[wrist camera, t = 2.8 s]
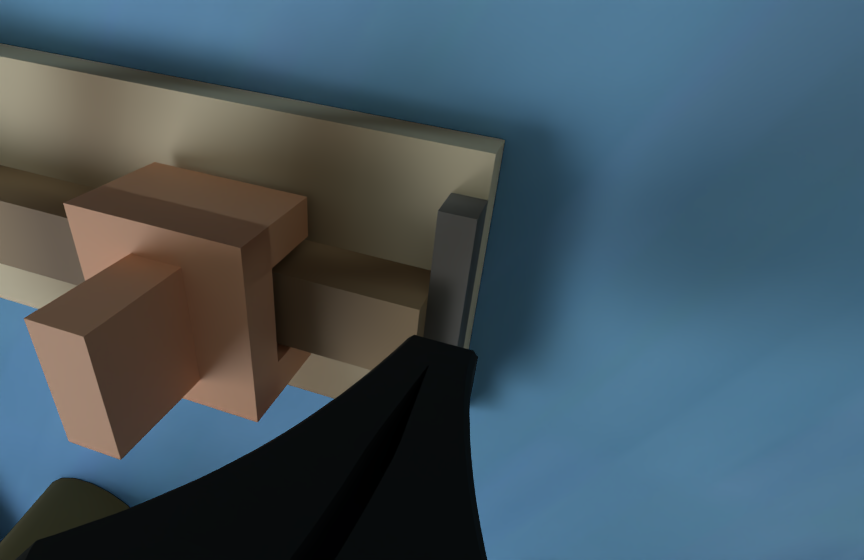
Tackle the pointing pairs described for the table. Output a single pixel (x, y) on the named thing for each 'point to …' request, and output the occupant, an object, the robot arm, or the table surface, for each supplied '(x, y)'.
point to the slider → (168, 304)
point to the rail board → (268, 167)
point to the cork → (59, 514)
